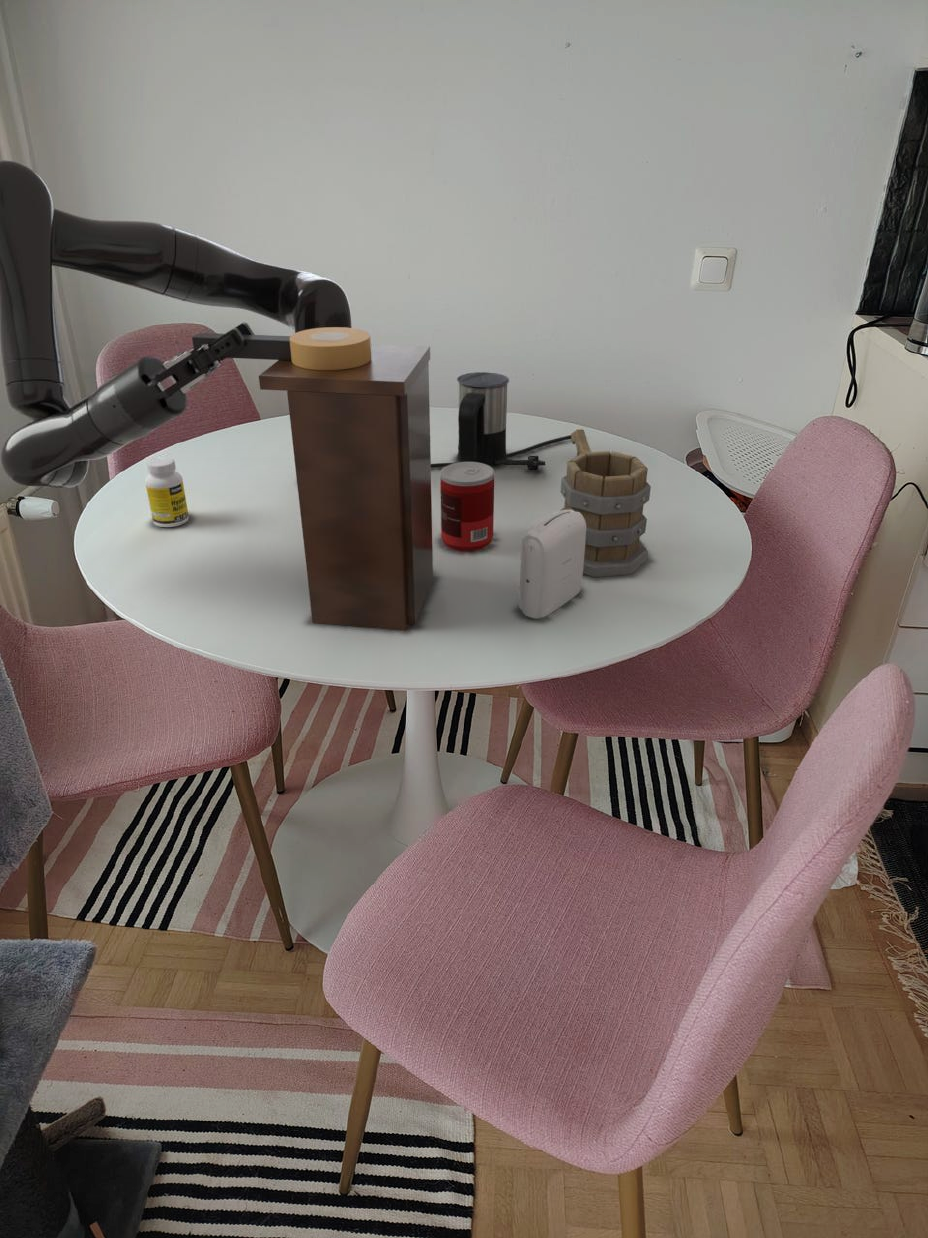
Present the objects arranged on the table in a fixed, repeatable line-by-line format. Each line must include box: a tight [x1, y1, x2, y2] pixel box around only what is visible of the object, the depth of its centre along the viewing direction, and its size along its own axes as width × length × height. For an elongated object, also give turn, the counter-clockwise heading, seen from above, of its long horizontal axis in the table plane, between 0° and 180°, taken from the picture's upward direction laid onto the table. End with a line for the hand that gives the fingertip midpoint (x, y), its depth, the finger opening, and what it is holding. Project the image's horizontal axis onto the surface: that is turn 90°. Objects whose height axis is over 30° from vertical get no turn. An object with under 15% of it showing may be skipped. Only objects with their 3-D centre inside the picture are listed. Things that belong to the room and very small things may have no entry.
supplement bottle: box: [144, 456, 190, 528], centre depth 131 cm, size 5×5×10 cm
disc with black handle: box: [191, 327, 372, 370], centre depth 97 cm, size 20×9×3 cm, turn 81°
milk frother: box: [456, 371, 547, 471], centre depth 149 cm, size 14×16×15 cm
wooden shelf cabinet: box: [258, 343, 434, 631], centre depth 105 cm, size 16×15×31 cm
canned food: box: [439, 461, 495, 553], centre depth 124 cm, size 8×8×11 cm
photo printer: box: [518, 509, 586, 620], centre depth 109 cm, size 10×4×12 cm, turn 140°
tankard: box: [559, 428, 652, 578], centre depth 122 cm, size 20×13×15 cm, turn 9°
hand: (245, 333), depth 97 cm, fingers closed on disc with black handle, 2 cm apart
